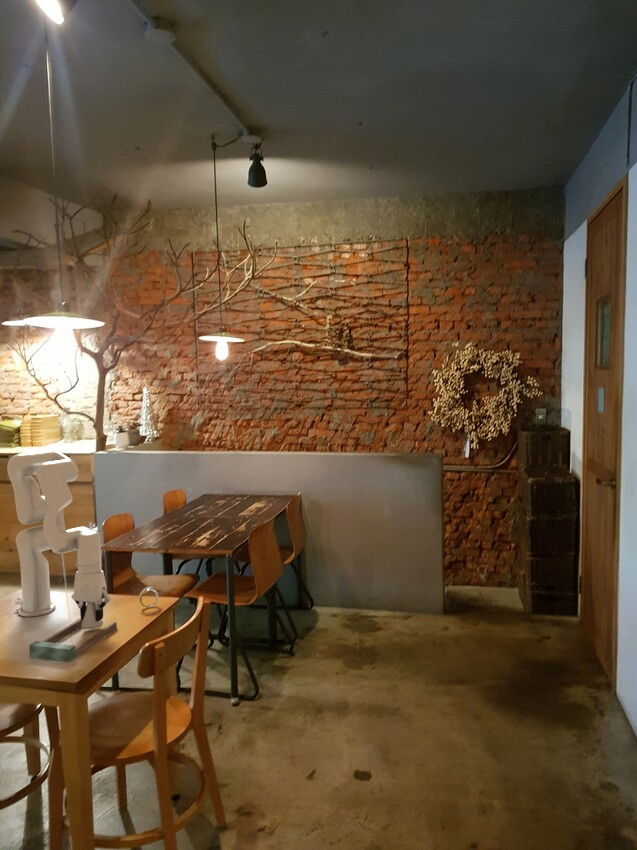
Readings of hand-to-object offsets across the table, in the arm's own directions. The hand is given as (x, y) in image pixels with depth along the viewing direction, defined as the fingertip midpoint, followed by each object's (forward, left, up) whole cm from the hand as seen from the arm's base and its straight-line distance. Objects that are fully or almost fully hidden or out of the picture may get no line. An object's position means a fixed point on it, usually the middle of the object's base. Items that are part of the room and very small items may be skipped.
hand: (91, 618), depth 206 cm
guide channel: (0, -9, -4) cm, 10 cm away
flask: (0, 0, -3) cm, 3 cm away
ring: (+8, +23, -5) cm, 25 cm away
